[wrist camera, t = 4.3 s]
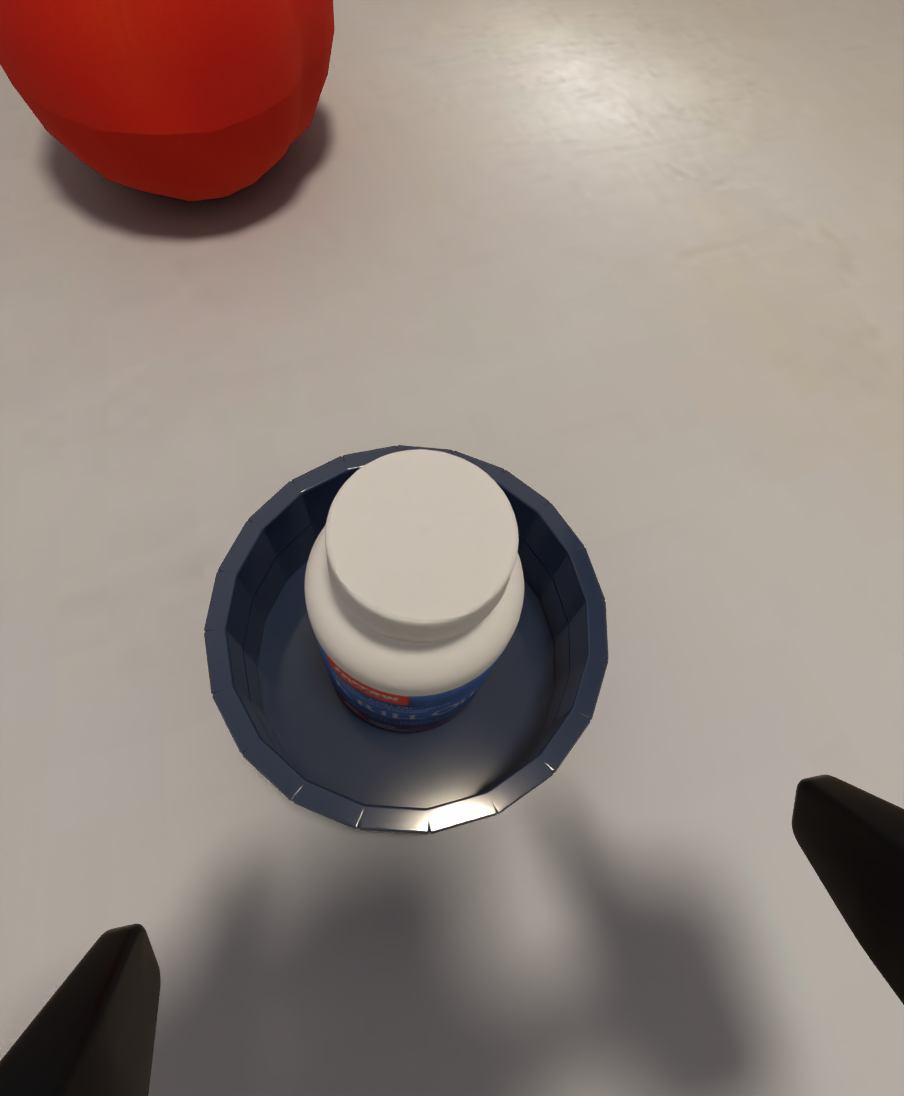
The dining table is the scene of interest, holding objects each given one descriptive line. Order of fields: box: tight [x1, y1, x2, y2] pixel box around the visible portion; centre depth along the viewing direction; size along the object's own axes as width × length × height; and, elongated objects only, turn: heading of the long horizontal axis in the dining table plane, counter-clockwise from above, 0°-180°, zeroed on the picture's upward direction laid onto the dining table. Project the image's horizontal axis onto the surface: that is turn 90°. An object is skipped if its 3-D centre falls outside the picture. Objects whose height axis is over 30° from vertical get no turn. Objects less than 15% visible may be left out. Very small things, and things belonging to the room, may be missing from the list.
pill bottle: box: [304, 449, 524, 732], centre depth 18 cm, size 6×5×10 cm
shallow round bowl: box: [204, 445, 608, 835], centre depth 20 cm, size 11×11×4 cm
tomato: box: [0, 0, 334, 201], centre depth 27 cm, size 13×14×12 cm
